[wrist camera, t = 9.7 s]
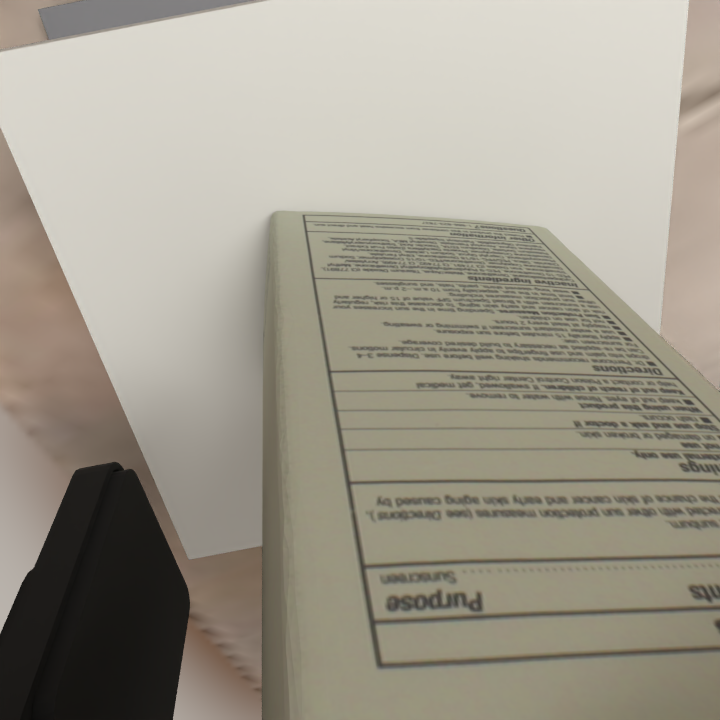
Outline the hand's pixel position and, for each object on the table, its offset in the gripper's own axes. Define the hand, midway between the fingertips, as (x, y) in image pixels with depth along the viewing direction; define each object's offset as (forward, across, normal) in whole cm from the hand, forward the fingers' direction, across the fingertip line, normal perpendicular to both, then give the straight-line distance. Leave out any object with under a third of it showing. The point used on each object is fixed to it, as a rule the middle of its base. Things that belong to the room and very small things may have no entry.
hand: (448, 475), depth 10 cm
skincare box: (+6, 0, 0) cm, 6 cm away
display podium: (+13, 0, 0) cm, 13 cm away
